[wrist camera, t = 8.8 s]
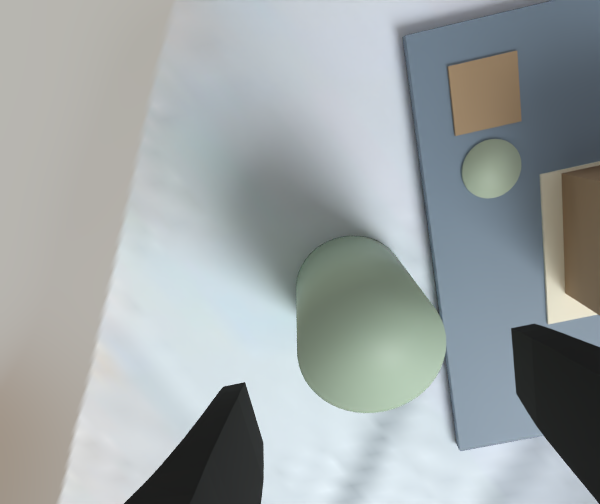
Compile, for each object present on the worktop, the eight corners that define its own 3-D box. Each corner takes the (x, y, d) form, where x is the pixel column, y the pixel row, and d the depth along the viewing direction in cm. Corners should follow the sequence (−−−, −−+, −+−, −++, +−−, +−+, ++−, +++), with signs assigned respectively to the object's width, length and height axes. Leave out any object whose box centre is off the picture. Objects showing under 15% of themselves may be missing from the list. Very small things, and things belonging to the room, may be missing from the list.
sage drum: (396, 224, 17) (437, 265, 12) (412, 325, 18) (454, 397, 14) (285, 248, 17) (282, 298, 13) (308, 346, 19) (314, 424, 14)
